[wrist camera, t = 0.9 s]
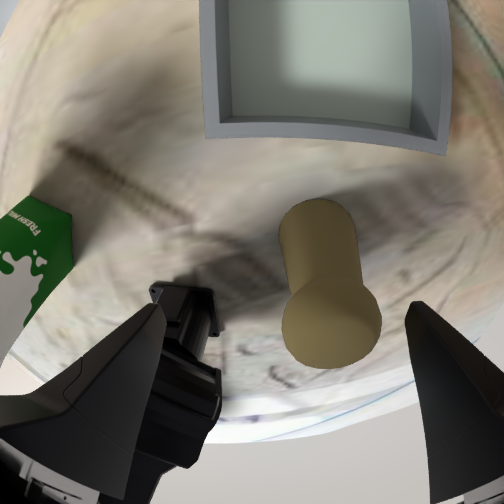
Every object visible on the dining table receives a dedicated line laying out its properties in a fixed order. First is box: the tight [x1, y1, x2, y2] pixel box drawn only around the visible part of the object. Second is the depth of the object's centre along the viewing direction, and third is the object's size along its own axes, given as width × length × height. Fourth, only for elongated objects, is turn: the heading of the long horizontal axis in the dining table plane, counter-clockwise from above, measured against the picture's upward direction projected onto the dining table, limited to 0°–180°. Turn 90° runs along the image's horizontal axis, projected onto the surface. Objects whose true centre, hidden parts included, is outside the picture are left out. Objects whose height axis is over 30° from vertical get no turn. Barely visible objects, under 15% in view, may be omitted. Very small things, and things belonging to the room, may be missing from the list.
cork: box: [278, 199, 382, 369], centre depth 17 cm, size 6×6×11 cm
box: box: [199, 0, 453, 156], centre depth 11 cm, size 14×14×4 cm
